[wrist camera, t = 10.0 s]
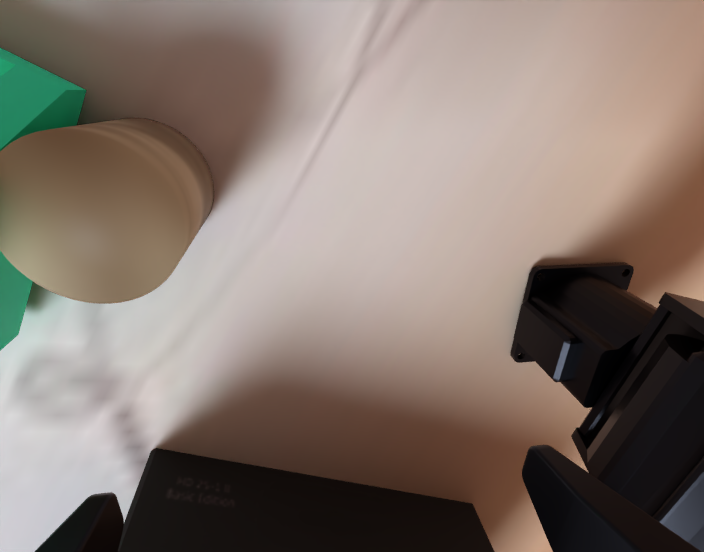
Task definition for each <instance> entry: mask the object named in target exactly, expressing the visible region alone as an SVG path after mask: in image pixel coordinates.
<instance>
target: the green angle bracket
mask: <svg viewBox="0 0 704 552" xmlns="http://www.w3.org/2000/svg"><path fill="white" fill-rule="evenodd" d="M85 94H86V90H85V89H83V88H81V87H79V86H77V85H75V84H73V83H71V82H69V81H67V80H65V79H63V78H61V77H59V76H57V75H55V74H53V73H51V72H49V71H47V70H44V69H42V68H40V67H38V66H36V65H34V64H32V63H30V62H28V61H26V60H24V59H22V58H20V57H18V56H16V55H14V54H12V53H10V52H8V51H6V50H4V49H2V48H0V151H1V150H2V149H4V148H5V147H6V146H8V145H9V144H10V143H11V142H13V141H15V140H17V139H19V138H21V137H23V136H25V135H28V134H31V133H34V132H38V131H43V130H49V129H56V128H63V127H70V126H77V122H78V119H79V115H80V112H81V108H82V105H83V101H84V97H85ZM32 283H33V281H32V280H30V279H29V278H27V277H26V276H25V275H24V274H22V273H21V272H20V271H19V270H17V269H16V268H15V267H14V266H13V265H12V264H11V263H10V262H9V261H8V260H7V258H6V257H5V256H4V255H3V253H2V252H1V251H0V350H2V349H3V348H4V347H5V346H6V345H7V344H8V343H9V342H10V341H12V340H13V339H14V338H15V337H16V336H17V335H18V333H19V330H20V326H21V323H22V319H23V315H24V312H25V308H26V305H27V301H28V298H29V294H30V290H31V287H32Z"/></svg>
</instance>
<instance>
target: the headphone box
mask: <svg viewBox="0 0 704 552" xmlns="http://www.w3.org/2000/svg"><path fill="white" fill-rule="evenodd" d="M118 552H494V550H493V548H492V545H491V543H490V541H489V539H488V537H487V535H486V532H485V530H484V528H483V526H482V524H481V522H480V519H479V517H478V515H477V513H476V511H475V509H474V506H473V504H471V503H465V502H459V501H454V500H448V499H442V498H437V497H431V496H425V495H420V494H414V493H408V492H403V491H397V490H391V489H385V488H380V487H374V486H368V485H363V484H357V483H351V482H346V481H340V480H334V479H329V478H323V477H317V476H311V475H306V474H300V473H294V472H289V471H283V470H277V469H272V468H266V467H260V466H254V465H249V464H243V463H237V462H232V461H226V460H220V459H215V458H209V457H203V456H198V455H192V454H186V453H180V452H175V451H169V450H163V449H158V448H156V449H154V450H152V451H151V453H150V455H149V458H148V461H147V463H146V466H145V469H144V472H143V474H142V477H141V480H140V482H139V485H138V488H137V490H136V493H135V496H134V498H133V501H132V504H131V506H130V509H129V512H128V514H127V517H126V520H125V522H124V526H123V532H122V536H121V540H120V545H119V549H118Z"/></svg>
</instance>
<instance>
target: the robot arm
mask: <svg viewBox="0 0 704 552" xmlns="http://www.w3.org/2000/svg"><path fill="white" fill-rule="evenodd" d="M623 271H624V272H623ZM633 271H634V269H633V267H632V266H631V265H629V264H627V263H601V264H578V265H555V266H538V267H535V268H533V269H532V270H531V272H530V274H529V278H528V282H527V286H526V290H525V294H524V299H523V303H522V305H521V309H520V313H519V318H518V322H517V326H516V330H515V334H514V341H513V345H512V349H511V357H512V358H513V359H514V361H516V362H519V363H520V362H532V361H536V362H537V364H538V365H539V366H540V367H541V368H542V369H543V370H544V371H545V372H546V373H547V374H548V375H549V376H550V377H551V378H552V379H553V380H554V381H555V382H561V383H562V384H563V385H564V386H565V387H566V388H567V389H568V390H569V392H570V393H571V394H572V395H573V396H574V397H575V398H576V399H577V400H578V401H579V402H580V403H581V404H582V405H583V406H584V407H586V408H589V407H592V409H591V410H590V412H589V413H588V415H587V417H586V418H585V420H584V421H583V423H582V424H581V426H580V427H578V428H576V429H575V431H574V433H573V434H572V439H573V441H574V443H575V445H576V447H577V449H578V451H579V453H580V455H581V458H582V460H583V462H584V464H585V466H586V468H587V470H588V472H589V473H588V472H586V471H585V470H584V469H582V468H581V467H579V466H578V465H576V464H575V463H574V462H572V461H571V460H569V459H568V458H566V457H565V456H563V455H562V454H561V453H559V452H558V451H556V450H555V449H553V448H552V447H550V446H548V445H537V446H531V447H530V448H529V450H528V452H527V456H526V459H525V462H524V465H523V469H522V477H523V481H524V483H525V486H526V488H527V491H528V493H529V495H530V498H531V500H532V503H533V505H534V508H535V510H536V512H537V515H538V517H539V520H540V522H541V524H542V527H543V529H544V532H545V534H546V537H547V539H548V541H549V544H550V546H551V548H552V550H553V552H704V301H700V300H695V299H691V298H687V297H683V296H679V295H675V294H671V293H666V292H665V293H664V295H663V296H662V298H661V300H660V301H659V304H660V305H659V307H658V308H656V307H654V306H652V305H651V304H649V303H647V302H645V301H644V300H642V299H640V298H638V297H637V296H635V295H633V294H631V293H630V292H628V291H627V289H628V286H629V283H630V280H631V277H632V275H633ZM622 272H623V273H622ZM540 273H541V275H540V277H538V278H537V276H538V275H539V274H540ZM520 353H521V354H520ZM519 354H520V355H519ZM123 526H124V521H123V516H122V512H121V509H120V506H119V503H118V500H117V497H116V495H115V494H114V493H101V494H94V495H91V496H90V497H88V498H87V499H86V500H85V501H84V502H83V503H82V504H81V505H80V506H79V507H78V508H77V509H76V510H75V511H74V512H73V513H72V514H71V515H70V516H69V517H68V518H67V519H66V520H65V521H64V522H63V523H62V524H61V525H60V526H59V527H58V528H57V529H56V530H55V531H54V532H53V533H52V534H51V535H50V537H49V538H48V539H47V540H46V541H45V542H44V543H43V544H42V545H41V546H40V547H39V548H38V549H37V550H36V551H35V552H118V549H119V545H120V540H121V536H122V532H123Z"/></svg>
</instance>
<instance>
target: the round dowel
mask: <svg viewBox="0 0 704 552" xmlns="http://www.w3.org/2000/svg"><path fill="white" fill-rule="evenodd" d="M213 197H214V186H213V180H212V175H211V172H210V169H209V167H208V165H207V163H206V161H205V159H204V157H203V156H202V154H201V153H200V151H199V150H198V149H197V148H196V146H195V145H194V144H193V143H192V142H191V141H190V140H189V139H188V138H186V137H185V136H184V135H182V134H181V133H180V132H178V131H177V130H175V129H173V128H171V127H169V126H167V125H165V124H163V123H160V122H157V121H154V120H149V119H143V118H126V119H119V120H112V121H105V122H98V123H91V124H84V125H77V126H70V127H63V128H56V129H49V130H43V131H38V132H34V133H31V134H28V135H25V136H23V137H21V138H19V139H17V140H15V141H13V142H11V143H10V144H9V145H8V146H6V147H5V148H4V149H2V150H1V151H0V251H1V252H2V253H3V255H4V256H5V257H6V258H7V260H8V261H9V262H10V263H11V264H12V265H13V266H14V267H15V268H16V269H17V270H19V271H20V272H21V273H22V274H24V275H25V276H26V277H27V278H29V279H30V280H32V281H33V282H35V283H36V284H38V285H40V286H41V287H43V288H45V289H47V290H49V291H51V292H54V293H56V294H58V295H61V296H64V297H67V298H70V299H73V300H78V301H83V302H89V303H119V302H125V301H129V300H133V299H136V298H139V297H142V296H144V295H146V294H148V293H150V292H152V291H153V290H154V289H156V288H157V287H159V286H160V285H161V284H162V283H163V282H164V281H166V280H167V279H168V277H169V276H170V275H171V274H172V272H173V271H174V269H175V268H176V266H177V265H178V263H179V261H180V260H181V258H182V257H183V255H184V253H185V252H186V250H187V249H188V247H189V246H190V244H191V242H192V241H193V239H194V238H195V236H196V234H197V233H198V231H199V230H200V228H201V227H202V225H203V223H204V222H205V220H206V218H207V217H208V215H209V213H210V210H211V208H212V203H213Z"/></svg>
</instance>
